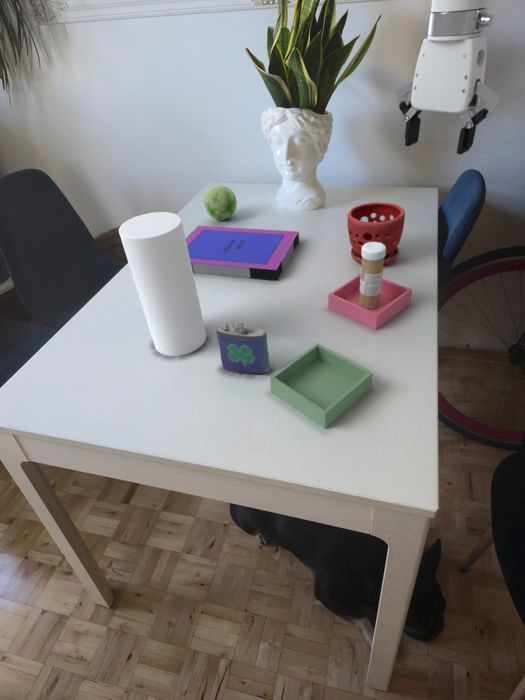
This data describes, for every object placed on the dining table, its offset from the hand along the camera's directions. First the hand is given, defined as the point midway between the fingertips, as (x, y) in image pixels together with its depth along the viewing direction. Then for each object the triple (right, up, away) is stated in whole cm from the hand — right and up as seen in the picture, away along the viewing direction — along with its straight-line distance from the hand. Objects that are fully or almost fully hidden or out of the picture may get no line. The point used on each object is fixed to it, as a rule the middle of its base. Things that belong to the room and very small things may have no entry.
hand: (436, 148), depth 75 cm
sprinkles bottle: (-7, -25, +18) cm, 32 cm away
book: (-38, -10, +41) cm, 56 cm away
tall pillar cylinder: (-47, -33, +14) cm, 59 cm away
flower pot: (-3, -12, +34) cm, 36 cm away
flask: (-33, -39, +6) cm, 51 cm away
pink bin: (-7, -25, +18) cm, 32 cm away
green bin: (-20, -42, 0) cm, 46 cm away
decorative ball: (-42, +6, +61) cm, 75 cm away
